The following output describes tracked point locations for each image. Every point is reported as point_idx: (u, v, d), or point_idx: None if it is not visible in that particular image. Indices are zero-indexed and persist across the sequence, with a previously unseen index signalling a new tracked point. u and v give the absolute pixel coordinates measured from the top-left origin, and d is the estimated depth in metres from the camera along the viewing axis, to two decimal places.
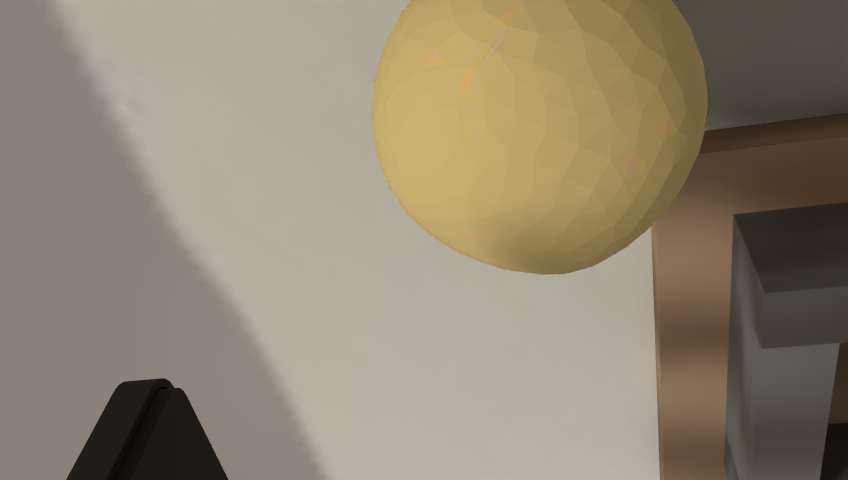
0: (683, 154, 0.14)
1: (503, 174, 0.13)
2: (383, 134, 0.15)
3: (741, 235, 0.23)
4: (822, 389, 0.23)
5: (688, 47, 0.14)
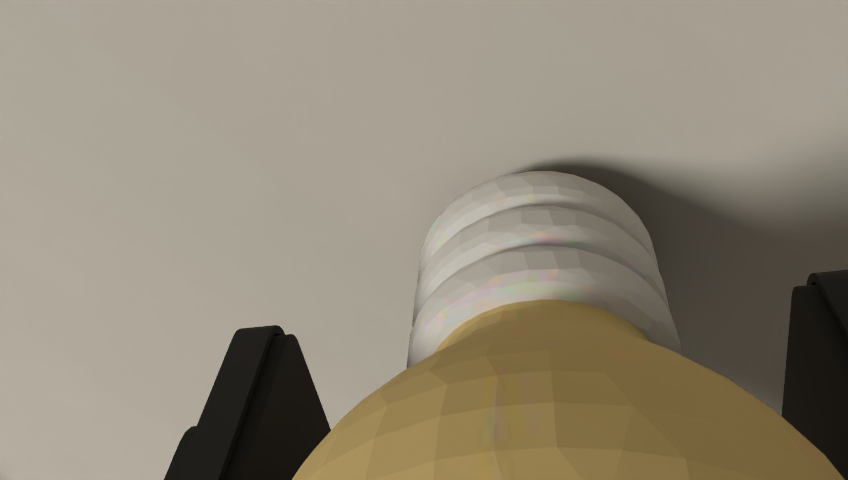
0: None
1: None
2: None
3: None
4: None
5: None
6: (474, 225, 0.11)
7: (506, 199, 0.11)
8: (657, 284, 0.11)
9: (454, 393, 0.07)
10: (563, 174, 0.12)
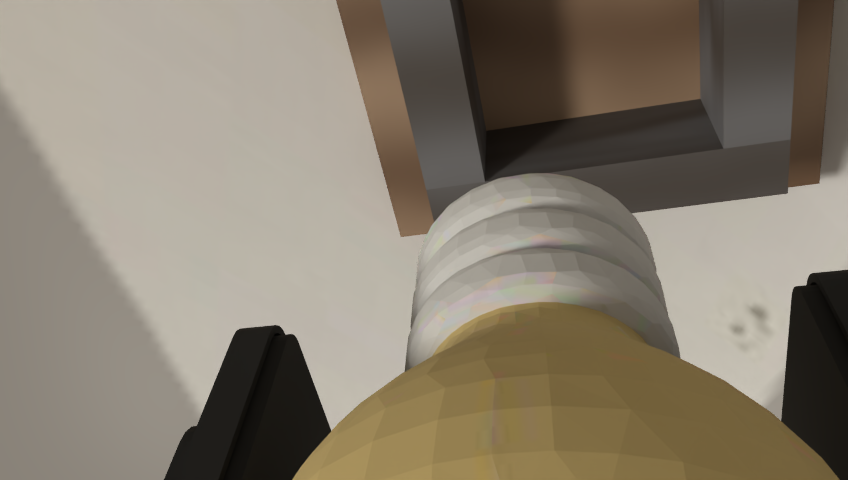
0: None
1: None
2: None
3: None
4: (443, 14, 0.23)
5: None
6: (472, 227, 0.11)
7: (504, 201, 0.11)
8: (655, 286, 0.11)
9: (453, 396, 0.07)
10: (561, 176, 0.12)
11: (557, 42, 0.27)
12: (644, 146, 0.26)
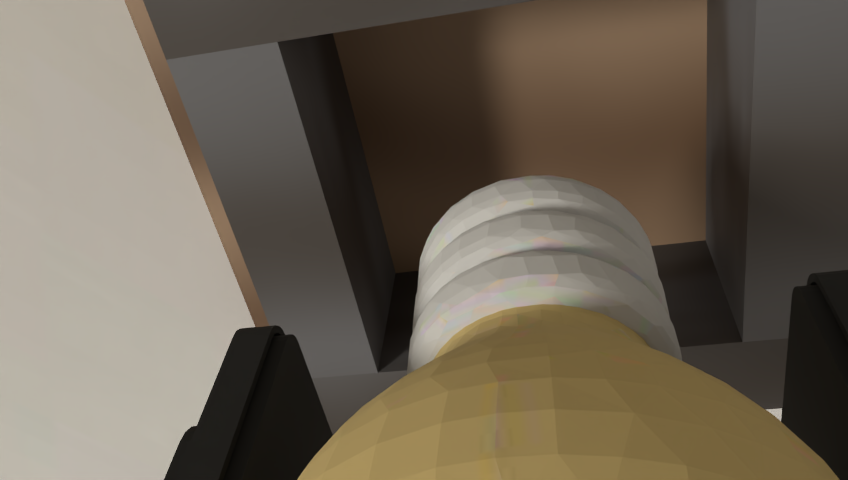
0: None
1: None
2: None
3: None
4: (291, 138, 0.14)
5: None
6: (474, 230, 0.11)
7: (506, 204, 0.12)
8: (656, 288, 0.11)
9: (455, 399, 0.07)
10: (563, 178, 0.12)
11: (493, 158, 0.18)
12: None
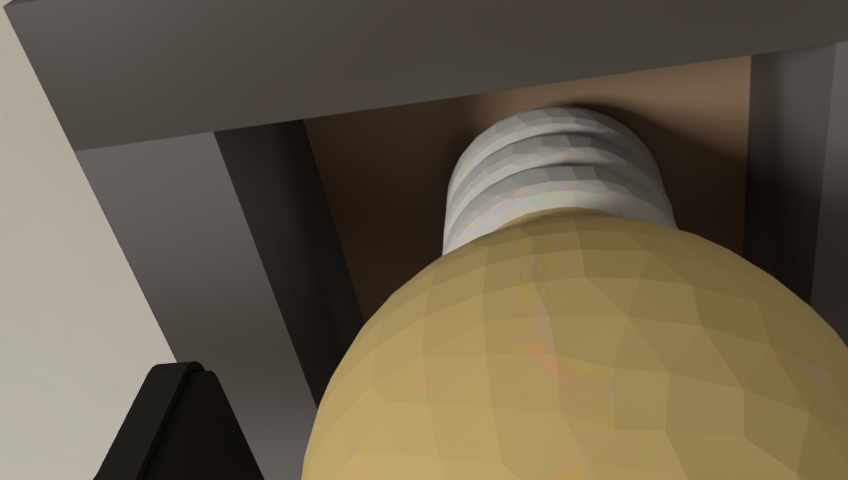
0: None
1: None
2: None
3: None
4: (236, 244, 0.11)
5: None
6: (499, 151, 0.12)
7: (527, 129, 0.13)
8: (664, 201, 0.12)
9: (496, 251, 0.08)
10: (578, 108, 0.13)
11: None
12: None
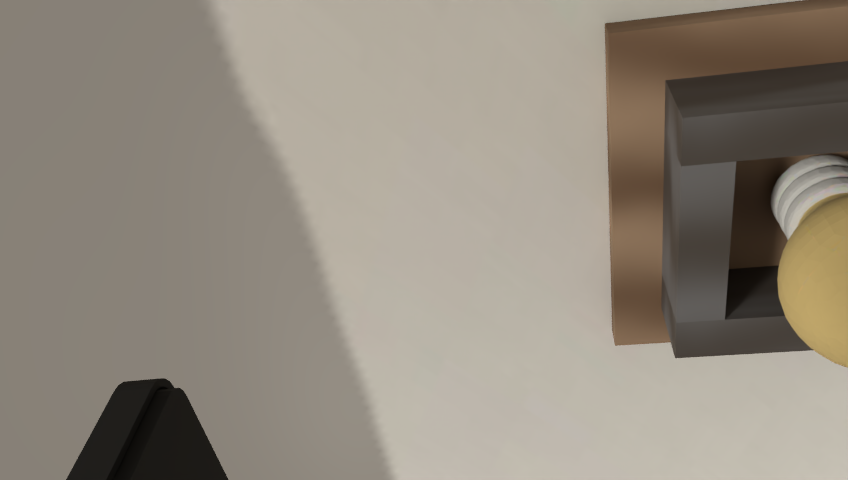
0: None
1: None
2: (810, 299, 0.27)
3: (669, 91, 0.31)
4: (725, 202, 0.31)
5: None
6: (811, 171, 0.32)
7: (819, 163, 0.32)
8: None
9: None
10: (836, 156, 0.33)
11: None
12: None
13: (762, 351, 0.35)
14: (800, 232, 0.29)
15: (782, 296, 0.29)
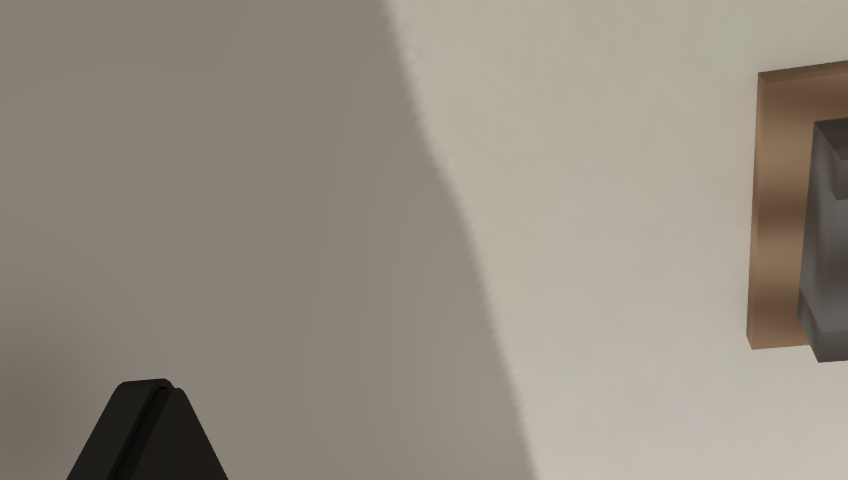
0: None
1: None
2: None
3: (821, 132, 0.36)
4: None
5: None
6: None
7: None
8: None
9: None
10: None
11: None
12: None
13: None
14: None
15: None
